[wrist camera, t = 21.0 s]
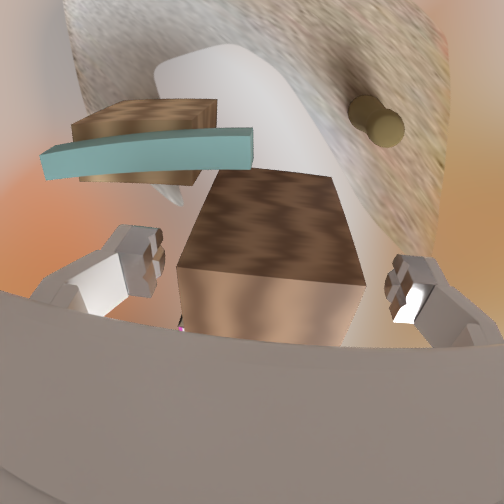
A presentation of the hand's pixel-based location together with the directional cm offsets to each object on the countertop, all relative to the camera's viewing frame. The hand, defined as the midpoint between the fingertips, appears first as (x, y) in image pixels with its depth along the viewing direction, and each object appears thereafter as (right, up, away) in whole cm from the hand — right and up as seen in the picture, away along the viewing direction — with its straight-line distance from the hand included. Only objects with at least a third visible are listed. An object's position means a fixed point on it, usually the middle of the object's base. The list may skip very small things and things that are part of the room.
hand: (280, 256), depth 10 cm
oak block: (-14, +21, +35) cm, 43 cm away
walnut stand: (+3, +9, +42) cm, 43 cm away
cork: (+17, +21, +32) cm, 42 cm away
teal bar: (-14, +12, +22) cm, 29 cm away
